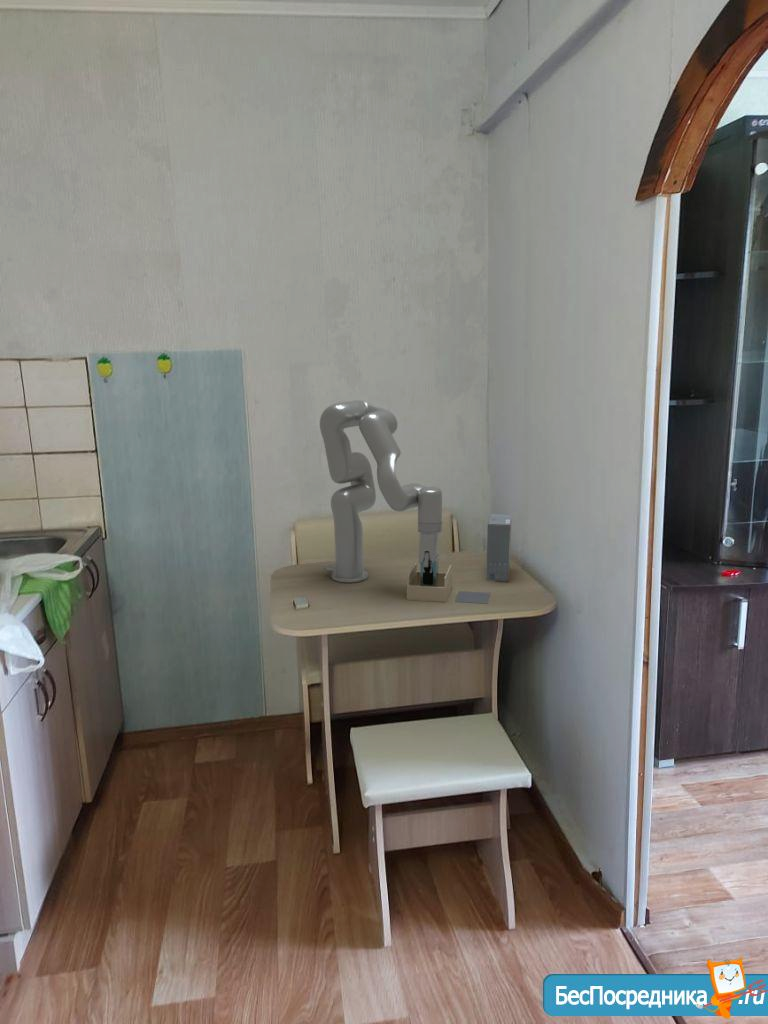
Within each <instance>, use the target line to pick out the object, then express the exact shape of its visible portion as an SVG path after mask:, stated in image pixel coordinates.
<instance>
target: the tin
mask: <svg viewBox="0 0 768 1024" xmlns="http://www.w3.org/2000/svg"><path fill="white" fill-rule="evenodd" d="M439 557H440V554H439V553H438V554H437V556H436V558H435V562H434V563H433V565H432V572H433V584H432V585H427V584H423V563H424V559H423V562H422V563H419V564H420V567H419V568H420V569H419V571H420V586H429V587H438V572H439V561H440V560H439ZM429 563H431V561H429ZM429 566H430V565H429Z"/></svg>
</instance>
